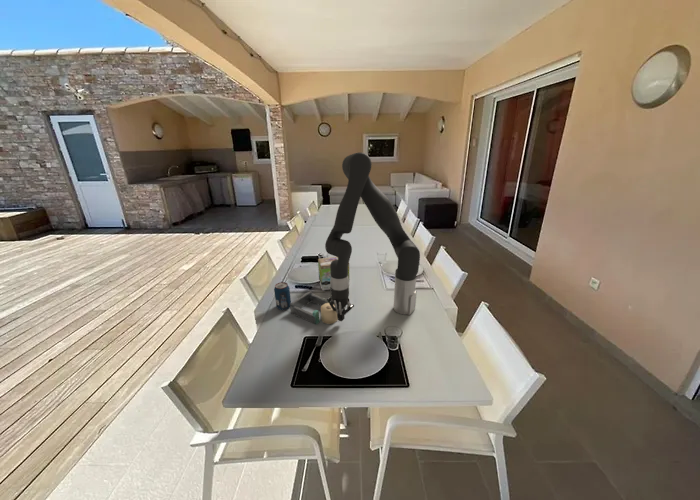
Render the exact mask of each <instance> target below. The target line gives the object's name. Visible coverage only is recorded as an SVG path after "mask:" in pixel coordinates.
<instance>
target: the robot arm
mask: <svg viewBox="0 0 700 500" xmlns="http://www.w3.org/2000/svg"><path fill="white" fill-rule="evenodd" d="M341 163H342V164H341V168H342V172H343V174H344V175H345V177H346V178H347V179H348V182H347V186H346V189H345V192H344V194H343V196H342V198H341V201H340V202H339V206H338V208H337V211H336V215H335V220H334V224H333V227H332V229H331V231H330V233H329V234H328V237H327V238H326V241H325V243H324V245H325V246H324V248H325V251H326V253H327V254H329V255H331V256H332V257H338V260H334V261H332V262H331V264H330V272H331V278H330V285H331V289H330V296H329V297H327V301H328V302H329V304H330V306H331V307H332V309H333V311H336V313H337V318H338V320H337V321H339V322H343V321H344V320H345V319H346V318H345V315H347V314H348V313H349V312H350V311H351V310H353V308H354V307H355V305H354V303H351V302H350V299H349V296H350V277H349V278H348V264H349V265H350V261H351V255H352V250H353V247H352V245H351V242H349V240H347V239H342V237H343V235H345V234H346V235H347V234H350V233H351V232H352V230H353V228H354V227H353V226H354V221H355V218H356V214H357V210H358V206H359V203H360V199H362V201H363V203H364V205H365V207H366V208H367V210H368V211H369V213H370V215H371V217H372V218H373V220H374V222H375V223H376V224H377V226H378V227H379V228H380V230H381V231H382V232H383V233H384V234H385V235H386V236H387V238H388V240H389V242H390V243H391V246H392V248H393V250H394V253H395V256H396V258H397V267H396V269H395V271H394V272H395V274H394V295H393V310H394V311H395V312H396V313H397V314H400V315H409V316H411V314H412V313H414V311H415V310H416V306H417V305H416V303H417V290H416V285H417V275H418V273H419V267H420V260H421V259H420V258H421V252H420V249H419V248H418V247H417V245H416V244H415V242H413V241H412V240H411V238H410V237H409V236H408V234H407V233H406V231H405V230H404V228H403V226H402V223H401V221H400V217H399V216H398V213H397V211H396V209H395V207H394V205H393V204H392V202H391V200H390V199H389V198H388V196H387V195H386V194H385V193H384V192H383V191H382V190H380V188H379V187H377V186H376V184H375V183H374V182H373V180H372V179H371V177H370V176H369V175H370V173H371V170H372V166H373V165H372V160H371V157H370V156H369V155H368V154H366V152H358V151H357V152H355V153H351V154H349V155H347V156H346V157H344V159H343V161H342V162H341ZM333 305H334V306H335V307H334V306H333Z"/></svg>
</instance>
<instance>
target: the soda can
mask: <svg viewBox="0 0 700 500" xmlns="http://www.w3.org/2000/svg"><path fill="white" fill-rule="evenodd" d="M290 291H291V290H290V286H289V285H288V283H287V282H284V281H282V282H281V281H280V282H278V283H275V285H274V289H273V293H274V299H275V305H276V308H277V309H278V310H279V311H287V310H290V303H292V300H291V299H292V298H291V292H290Z"/></svg>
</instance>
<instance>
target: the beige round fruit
mask: <svg viewBox="0 0 700 500" xmlns="http://www.w3.org/2000/svg"><path fill="white" fill-rule="evenodd" d="M333 306H334V305H333ZM334 307H335V306H334ZM320 318H321V322H322V323H324V324H326V325H333V324H335V323H336V322H338V321H339V320H338V318H337V313H336V311H333V309H332V307H331V306H330V304H329V303H325V304H323V305H322V306H320Z"/></svg>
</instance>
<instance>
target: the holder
mask: <svg viewBox="0 0 700 500" xmlns="http://www.w3.org/2000/svg"><path fill="white" fill-rule="evenodd" d="M327 299H328V298H327ZM327 299H326V298H324V297H322V296H319V295H316V294H314V293H313V292H312V291H307V292H306V293H304V294H303V295H302V296H300V297H298V298H297V299H295V300H294V301H291V303H290V308H289V310H290V314H292V315H294V316H296V317H298V318H301V319H303V320H305V321H307V322H309V323H312V324H314V325H315V326H316V325H318V324H319V323H320V311H319V310H317V309H314V310H313V311H312V312H310V311H308V310H306V309H304V307H305V306H306V305H308V304H310V303H313V304H315V305H317V306H320V307H321V306H322V305H323V304H325V303H329V302H328V301H327Z"/></svg>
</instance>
